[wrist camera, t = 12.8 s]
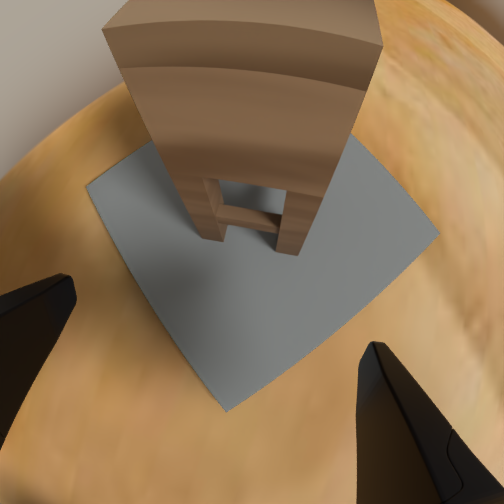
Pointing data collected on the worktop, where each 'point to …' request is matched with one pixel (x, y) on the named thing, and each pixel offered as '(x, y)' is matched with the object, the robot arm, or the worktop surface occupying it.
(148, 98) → the stool
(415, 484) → the robot arm
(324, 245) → the mat
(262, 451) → the worktop surface
